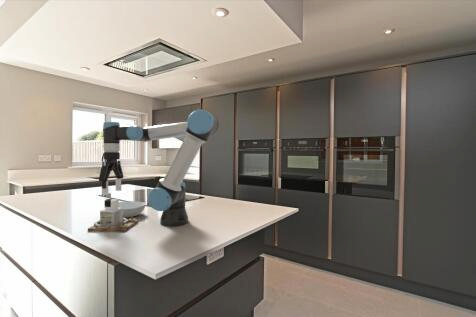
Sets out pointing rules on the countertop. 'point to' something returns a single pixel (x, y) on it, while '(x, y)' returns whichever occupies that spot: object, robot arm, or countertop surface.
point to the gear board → (114, 226)
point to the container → (111, 213)
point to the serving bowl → (131, 208)
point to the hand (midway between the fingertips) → (112, 192)
